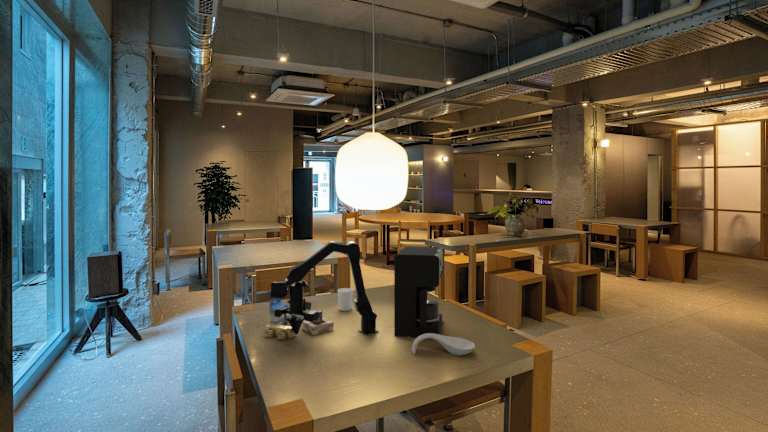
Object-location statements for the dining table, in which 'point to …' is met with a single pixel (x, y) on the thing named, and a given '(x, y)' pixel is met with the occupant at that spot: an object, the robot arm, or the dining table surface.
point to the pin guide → (280, 334)
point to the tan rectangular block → (282, 328)
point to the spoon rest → (447, 343)
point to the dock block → (317, 326)
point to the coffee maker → (417, 291)
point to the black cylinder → (320, 319)
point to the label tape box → (273, 307)
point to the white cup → (345, 299)
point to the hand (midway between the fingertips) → (296, 334)
